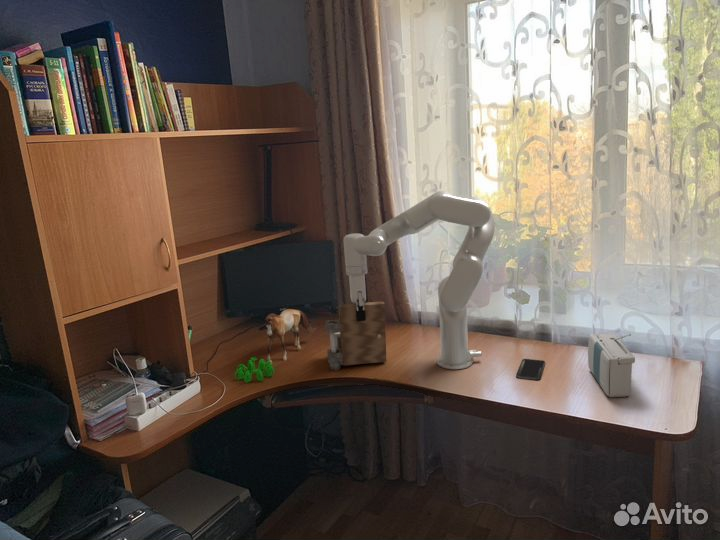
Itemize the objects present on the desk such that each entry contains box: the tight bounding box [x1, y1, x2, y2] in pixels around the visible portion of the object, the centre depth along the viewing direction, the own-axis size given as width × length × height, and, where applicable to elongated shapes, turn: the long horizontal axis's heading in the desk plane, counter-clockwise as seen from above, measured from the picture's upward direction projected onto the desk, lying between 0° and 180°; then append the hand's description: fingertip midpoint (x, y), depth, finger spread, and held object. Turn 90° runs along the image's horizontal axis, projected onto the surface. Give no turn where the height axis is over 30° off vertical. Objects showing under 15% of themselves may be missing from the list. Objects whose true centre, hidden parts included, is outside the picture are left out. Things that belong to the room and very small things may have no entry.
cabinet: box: [329, 323, 342, 371], centre depth 212 cm, size 18×13×17 cm
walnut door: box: [325, 301, 387, 366], centre depth 207 cm, size 21×5×22 cm, turn 96°
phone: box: [515, 358, 546, 381], centre depth 195 cm, size 8×1×15 cm
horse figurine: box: [264, 308, 317, 365], centre depth 223 cm, size 31×8×21 cm, turn 153°
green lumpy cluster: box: [234, 356, 276, 384], centre depth 207 cm, size 15×15×7 cm
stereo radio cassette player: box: [587, 333, 636, 398], centre depth 179 cm, size 21×8×20 cm, turn 174°
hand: (360, 318), depth 206 cm, fingers open, 3 cm apart
